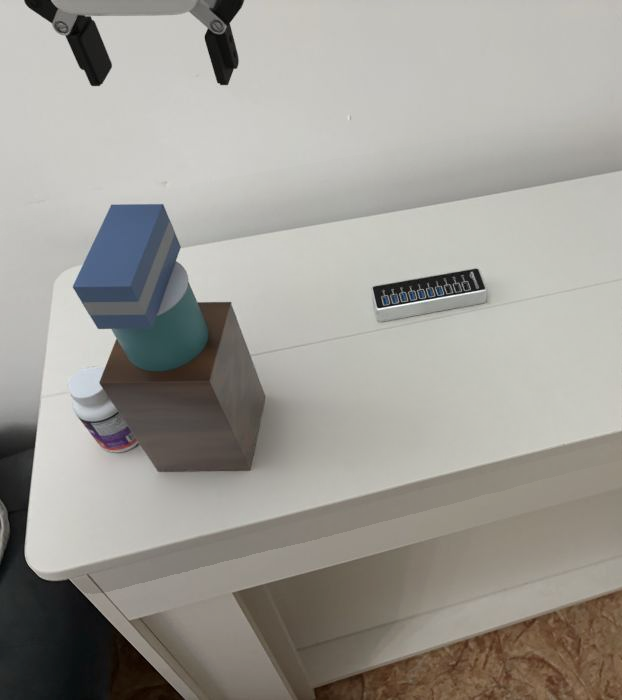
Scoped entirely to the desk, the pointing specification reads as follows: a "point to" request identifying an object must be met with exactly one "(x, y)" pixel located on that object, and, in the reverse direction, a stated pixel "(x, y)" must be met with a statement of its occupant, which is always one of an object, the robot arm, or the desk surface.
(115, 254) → the block
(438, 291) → the multiport hub
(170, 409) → the walnut crate
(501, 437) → the desk surface
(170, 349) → the yogurt pot
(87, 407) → the pill bottle
